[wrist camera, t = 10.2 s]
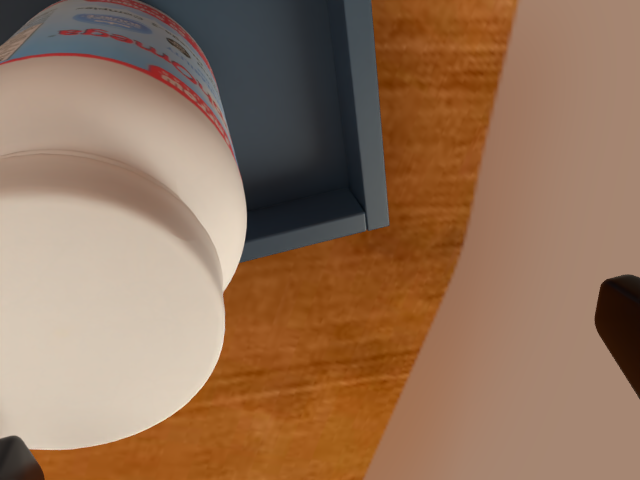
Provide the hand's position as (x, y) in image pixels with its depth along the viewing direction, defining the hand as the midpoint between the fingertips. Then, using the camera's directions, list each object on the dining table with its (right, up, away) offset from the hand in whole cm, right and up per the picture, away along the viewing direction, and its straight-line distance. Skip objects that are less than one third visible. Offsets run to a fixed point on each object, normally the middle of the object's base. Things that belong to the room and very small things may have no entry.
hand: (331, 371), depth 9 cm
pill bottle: (-6, +6, +9) cm, 13 cm away
